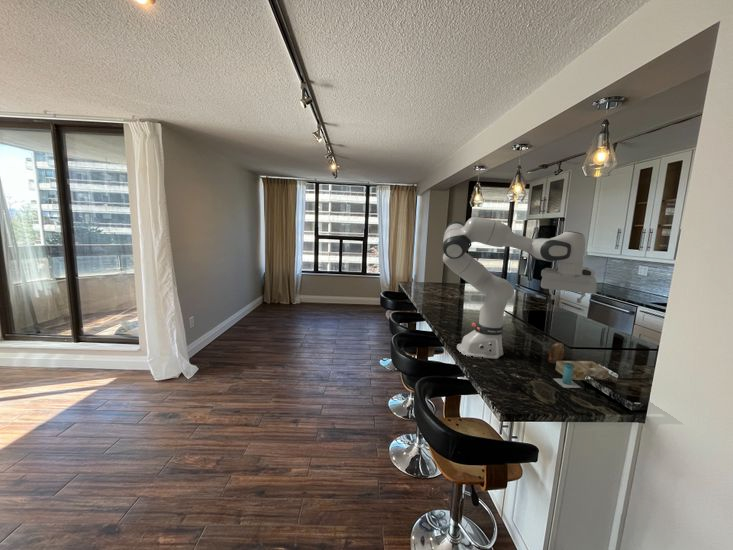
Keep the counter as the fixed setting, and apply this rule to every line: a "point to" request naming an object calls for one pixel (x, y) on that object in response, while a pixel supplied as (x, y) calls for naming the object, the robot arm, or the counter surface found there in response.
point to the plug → (567, 373)
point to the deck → (573, 385)
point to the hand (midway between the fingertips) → (565, 300)
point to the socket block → (583, 369)
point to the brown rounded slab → (556, 352)
